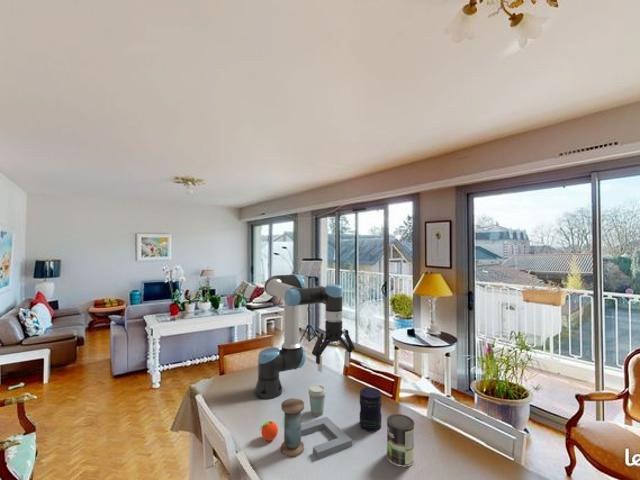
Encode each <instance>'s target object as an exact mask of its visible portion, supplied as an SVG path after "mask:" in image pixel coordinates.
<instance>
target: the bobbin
mask: <svg viewBox="0 0 640 480" xmlns="http://www.w3.org/2000/svg"><path fill="white" fill-rule="evenodd" d="M304 409H305V402H304V401H303V400H302V399H300V398H292V397H291V398H287V399H284V400H283V401H282V402H281V411H282V412H284V415H283V416H284V418H283V419H284V421H283V424H284V425H283V427H284V428H283V430H284V431H283V434H284V435H283V442H282V443H281V445H280V452H281V454H282V455H283V456H285V457H288V458H297V457H299V456H301V455H302V454H303V453H304V449H305V447H304V442H303V441H302V439H301V438H302V436H301V425H302V423H301V422H302V412H303V411H304Z"/></svg>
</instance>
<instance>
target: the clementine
mask: <svg viewBox="0 0 640 480" xmlns="http://www.w3.org/2000/svg"><path fill="white" fill-rule="evenodd" d="M259 431H261V432H260V433H261V436H262V438H263V439H264V440H266V441H273V440H274V439H275V438H276V437H277V435H278V432H279V427H278V425H277V423H276V422H274V421H272V420H268V421H266V422H265V423H263V424H262V425H261V426H260V428H259V430H258V432H259Z"/></svg>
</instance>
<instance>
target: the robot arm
mask: <svg viewBox="0 0 640 480" xmlns="http://www.w3.org/2000/svg"><path fill="white" fill-rule="evenodd" d="M263 286H264V291H265V293H266V294H267V295H268V296H271V297H273V298H274V297H278V298H280V299H282V301H283V302H284V303H283V304H284V306H283V312H284V313H283V314H284V315H283V316H284V317H283V319H284V320H283V321H284V322H283V323H284V324H283V325H284V326H283V328H284V329H283V332H284V333H283V334H284V335H283V339H284V340H283V344H281V349H280V348H279V347H275V346H274V347H267V348H264V349H262V350H260V351H259V353H258V354H257V355H258V357H257V358H258V359H257V381H256V384H255V388H254V395H255V397H257V398H259V399H262V400H264V399H265V400H267V399H275V398H278V397H280V395H282V393H283V386H282V382H281V379H280V373H282V372H286V371H291V370H297V369H301V368H303V366H304V365H305V362H306V358H307V357H306V355H307V354H306V350H305V347H303V345H302V343H301V342H300V306H306V305H318V304H324V305H325V313H324V314H325V315H324V316H325V317H324V319H325V321H324V322H325V324H324V328H325V332H321V331H318V338H317V339H316V342H315V344H314V347H313V349H312V351H311V354H312V356H314V357H315V364H317V371H318V372H319V373H322V372H323V356H322V355H323V353H324V351H325V349H326V348H327V347H328V346H329V344H330V343H334V342H340V344H341V345H342V346H343V347H344V349H345V350H344V366H345V367H346V368H349V367H350V359H351V353H352V352H353V351H354V350H355V346H354V343H353V342H352V341H353V340H352V339H351V337H350V334H349V330H348V329H346V328H344V329H343V295H344V293H343V286H342V285H340V284H326V285H325V286H322V285H317V286H313V287H306V281H305V279H304V278H303V276H302V275H300V274H295V273H293V274H282V275H281V274H276V275H273V276H271V277H268V279H266V281H265V282H264V285H263ZM342 336H344V338H345V340H344V338H343V337H342ZM345 341H346V342H345Z"/></svg>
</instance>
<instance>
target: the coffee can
mask: <svg viewBox="0 0 640 480" xmlns="http://www.w3.org/2000/svg"><path fill="white" fill-rule="evenodd" d="M415 424H416V423H415V421H414V420H413V419H412V418H411V417H409V415H408V416H407V415H406V414H401V413H400V414H399V413H394V414H390V415H389V416H387V418H386V428H387V429H386V435H387V436H386V438H387V439H386V458H387V460H388V462H389V463H391V464H392V465H394V466H396V465H397V466H396V467H399V466H402V467H401V468H405V467H404V466H409V467H411V466H412V465H414V464H415V463H414V462H415ZM410 465H411V466H410Z"/></svg>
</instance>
